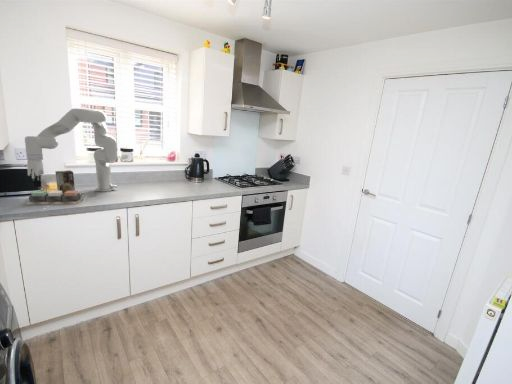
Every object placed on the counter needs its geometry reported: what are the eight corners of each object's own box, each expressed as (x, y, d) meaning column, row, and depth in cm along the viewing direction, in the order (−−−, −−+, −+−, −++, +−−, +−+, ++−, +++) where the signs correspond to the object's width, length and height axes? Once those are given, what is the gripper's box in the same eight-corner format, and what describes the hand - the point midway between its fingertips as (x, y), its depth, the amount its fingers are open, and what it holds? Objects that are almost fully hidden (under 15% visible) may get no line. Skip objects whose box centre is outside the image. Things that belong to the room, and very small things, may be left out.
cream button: (62, 195, 171) (62, 190, 171) (59, 198, 166) (59, 192, 165) (52, 195, 169) (51, 190, 169) (48, 198, 164) (48, 193, 163)
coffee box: (72, 191, 192) (70, 170, 188) (75, 193, 188) (73, 171, 184) (57, 193, 185) (55, 171, 181) (60, 195, 181) (58, 172, 177)
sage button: (47, 195, 168) (46, 190, 168) (43, 198, 163) (42, 193, 162) (36, 196, 166) (35, 190, 166) (32, 198, 161) (31, 193, 160)
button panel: (83, 198, 178) (82, 192, 177) (78, 203, 168) (77, 196, 167) (34, 199, 169) (33, 192, 168) (26, 204, 159) (25, 197, 158)
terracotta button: (78, 195, 174) (77, 190, 173) (75, 198, 169) (75, 192, 168) (67, 195, 172) (67, 190, 171) (64, 198, 167) (64, 192, 166)
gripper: (32, 155, 164) (35, 183, 168) (21, 158, 151) (24, 189, 155) (47, 156, 167) (49, 184, 171) (37, 158, 153) (40, 189, 157)
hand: (37, 186), depth 163 cm, fingers closed
